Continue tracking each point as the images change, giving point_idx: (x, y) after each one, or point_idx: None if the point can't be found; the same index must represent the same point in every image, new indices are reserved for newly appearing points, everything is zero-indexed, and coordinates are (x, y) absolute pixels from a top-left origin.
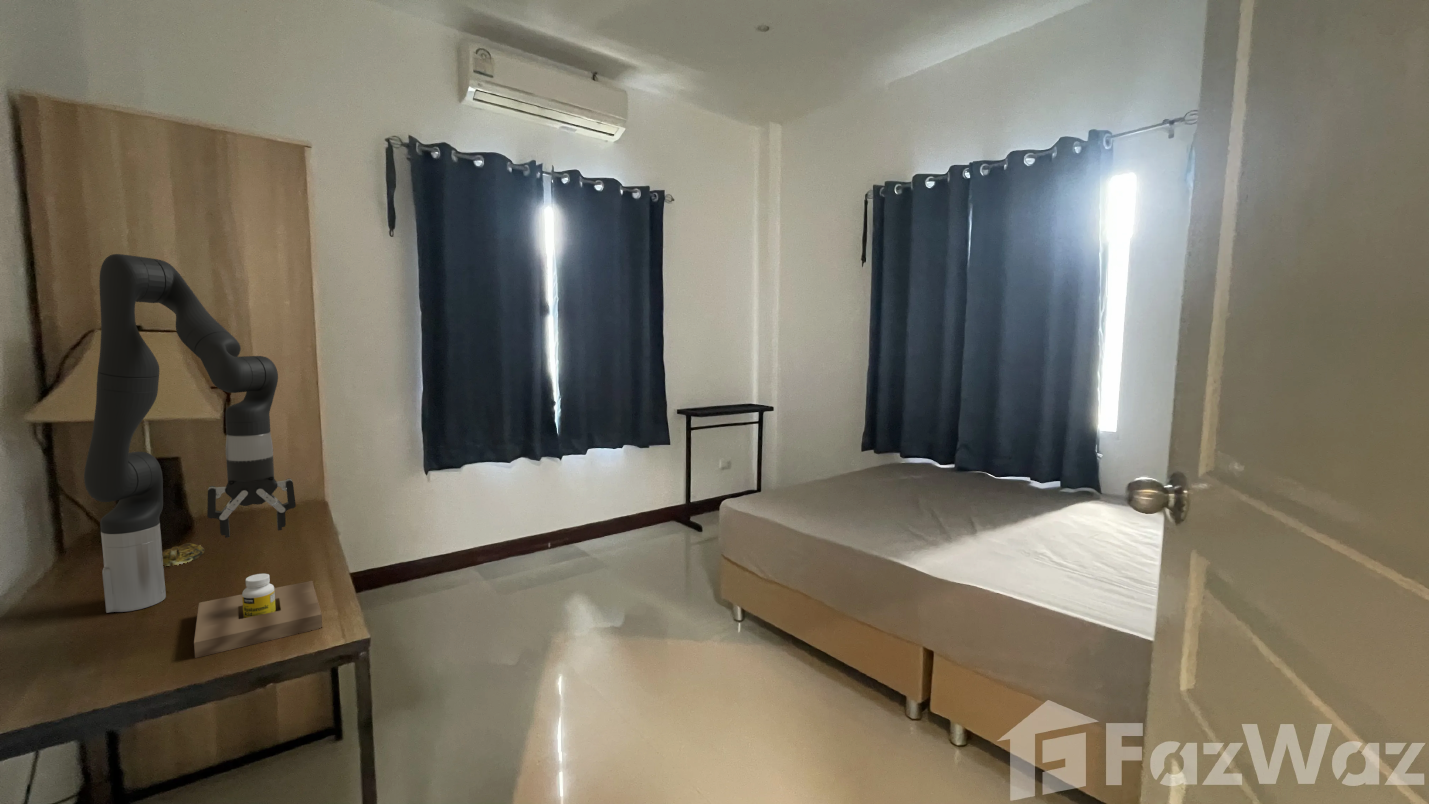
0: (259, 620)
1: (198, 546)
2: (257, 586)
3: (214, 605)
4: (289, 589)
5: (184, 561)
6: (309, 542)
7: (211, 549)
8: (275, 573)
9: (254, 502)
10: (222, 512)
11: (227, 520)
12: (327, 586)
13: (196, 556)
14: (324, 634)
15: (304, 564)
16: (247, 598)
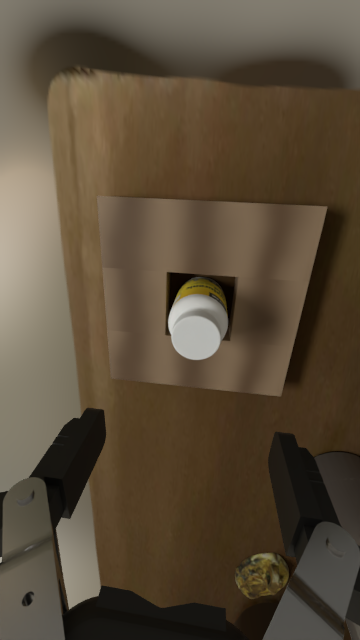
0: (206, 245)
1: (241, 584)
2: (199, 311)
3: (262, 369)
4: (147, 363)
5: (261, 557)
6: (117, 533)
7: (227, 573)
8: (164, 465)
9: (145, 623)
10: (349, 592)
11: (304, 513)
12: (97, 376)
13: (246, 562)
14: (106, 159)
15: (125, 471)
16: (220, 304)
